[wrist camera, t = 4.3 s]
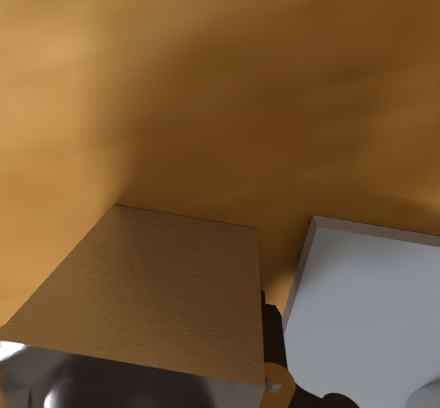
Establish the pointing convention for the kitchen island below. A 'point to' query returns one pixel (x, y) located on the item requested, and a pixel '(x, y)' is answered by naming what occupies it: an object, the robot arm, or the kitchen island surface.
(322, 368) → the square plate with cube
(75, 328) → the cube on steel peg
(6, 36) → the kitchen island surface
